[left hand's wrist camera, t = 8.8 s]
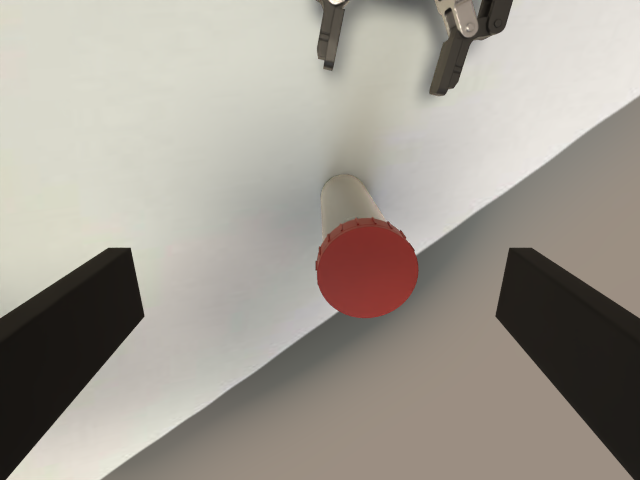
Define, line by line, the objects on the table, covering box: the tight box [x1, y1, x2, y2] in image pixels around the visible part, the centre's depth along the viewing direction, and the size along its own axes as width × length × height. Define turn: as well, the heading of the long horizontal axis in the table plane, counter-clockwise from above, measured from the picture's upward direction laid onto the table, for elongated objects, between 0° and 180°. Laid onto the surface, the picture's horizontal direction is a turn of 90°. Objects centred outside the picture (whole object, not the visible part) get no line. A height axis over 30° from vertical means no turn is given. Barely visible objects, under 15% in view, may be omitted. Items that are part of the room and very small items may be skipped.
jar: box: [321, 174, 387, 241], centre depth 28 cm, size 5×5×18 cm
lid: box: [316, 217, 418, 318], centre depth 20 cm, size 6×6×2 cm
